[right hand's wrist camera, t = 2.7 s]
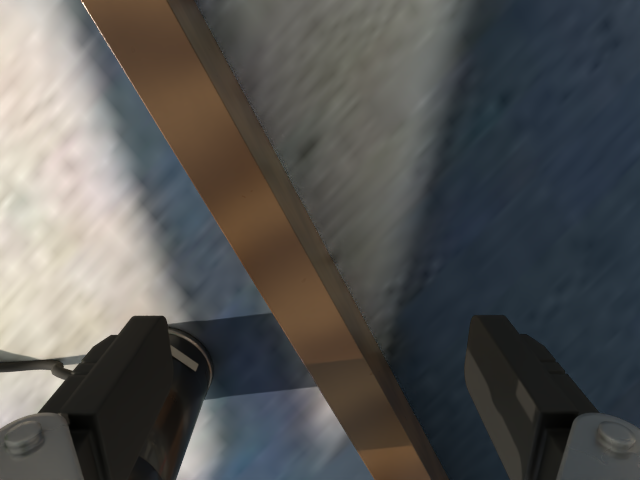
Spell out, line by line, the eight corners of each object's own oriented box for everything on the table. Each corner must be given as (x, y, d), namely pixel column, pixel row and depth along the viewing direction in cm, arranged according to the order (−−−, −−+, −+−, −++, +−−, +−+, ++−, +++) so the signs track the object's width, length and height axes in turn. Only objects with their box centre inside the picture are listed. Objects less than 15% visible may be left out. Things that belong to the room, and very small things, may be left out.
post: (58, -120, 30) (-38, -193, 22) (111, -156, 30) (32, -244, 21) (445, 548, 54) (468, 632, 46) (479, 536, 53) (509, 620, 45)
